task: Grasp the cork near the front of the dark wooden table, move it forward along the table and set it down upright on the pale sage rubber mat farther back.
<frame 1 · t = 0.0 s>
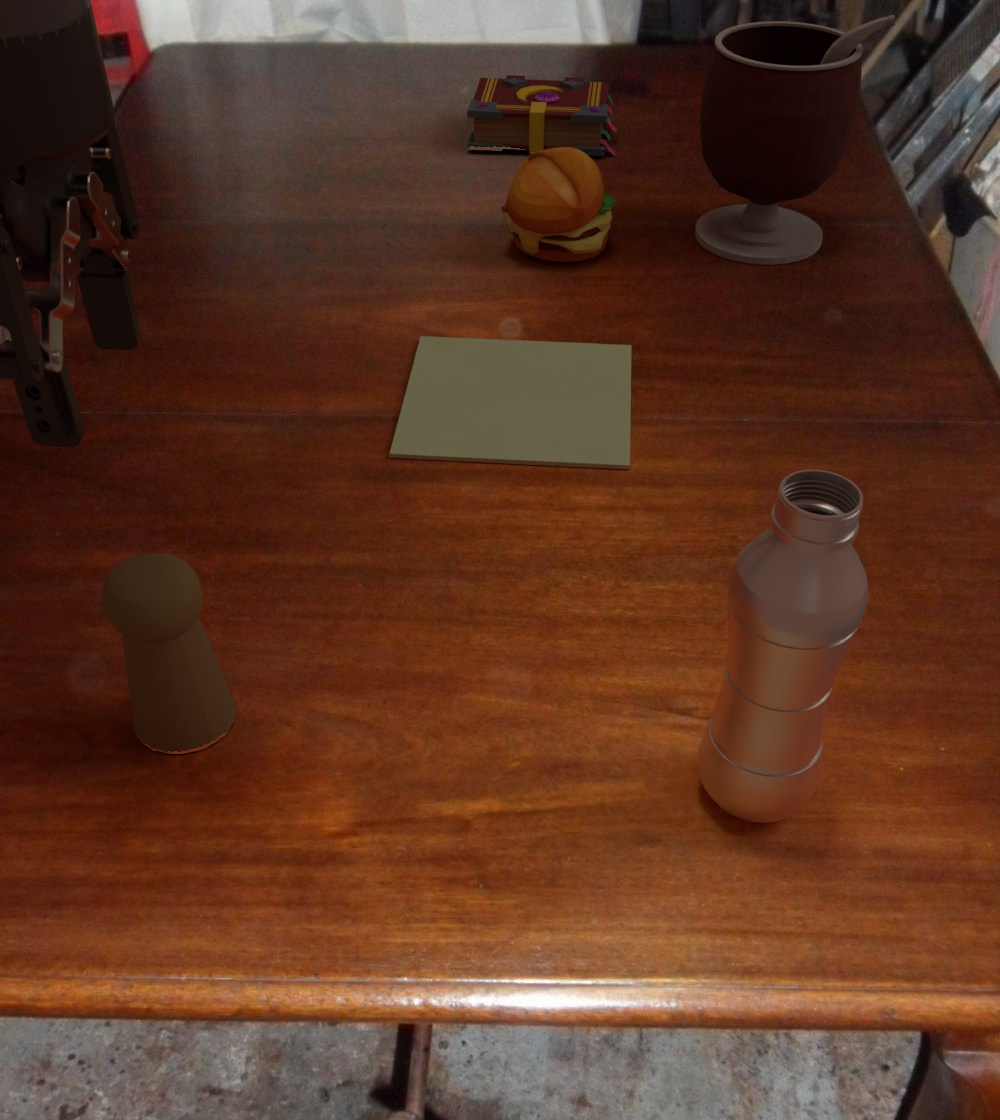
hand: (91, 391, 56), 21 cm above the table, tool pointing down, fingers open, 8 cm apart
mate gourd: (765, 239, 116), on the table
plastic bottle: (751, 794, 66), on the table
cheeseburger: (559, 249, 114), on the table
cork: (186, 719, 70), on the table
decorative book: (544, 139, 134), on the table
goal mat: (517, 400, 95), on the table
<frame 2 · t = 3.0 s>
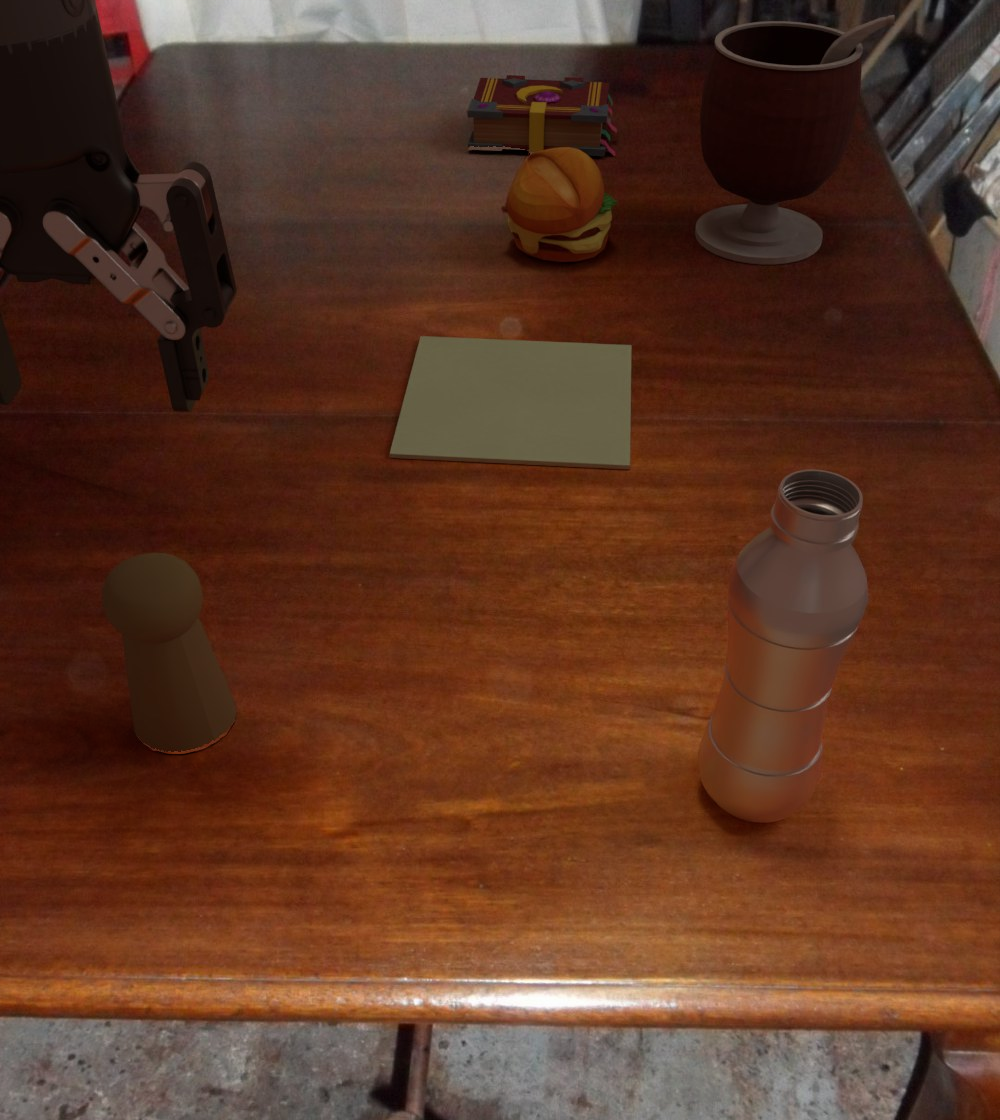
hand: (96, 399, 55), 21 cm above the table, tool pointing down, fingers open, 8 cm apart
nothing on the table moved.
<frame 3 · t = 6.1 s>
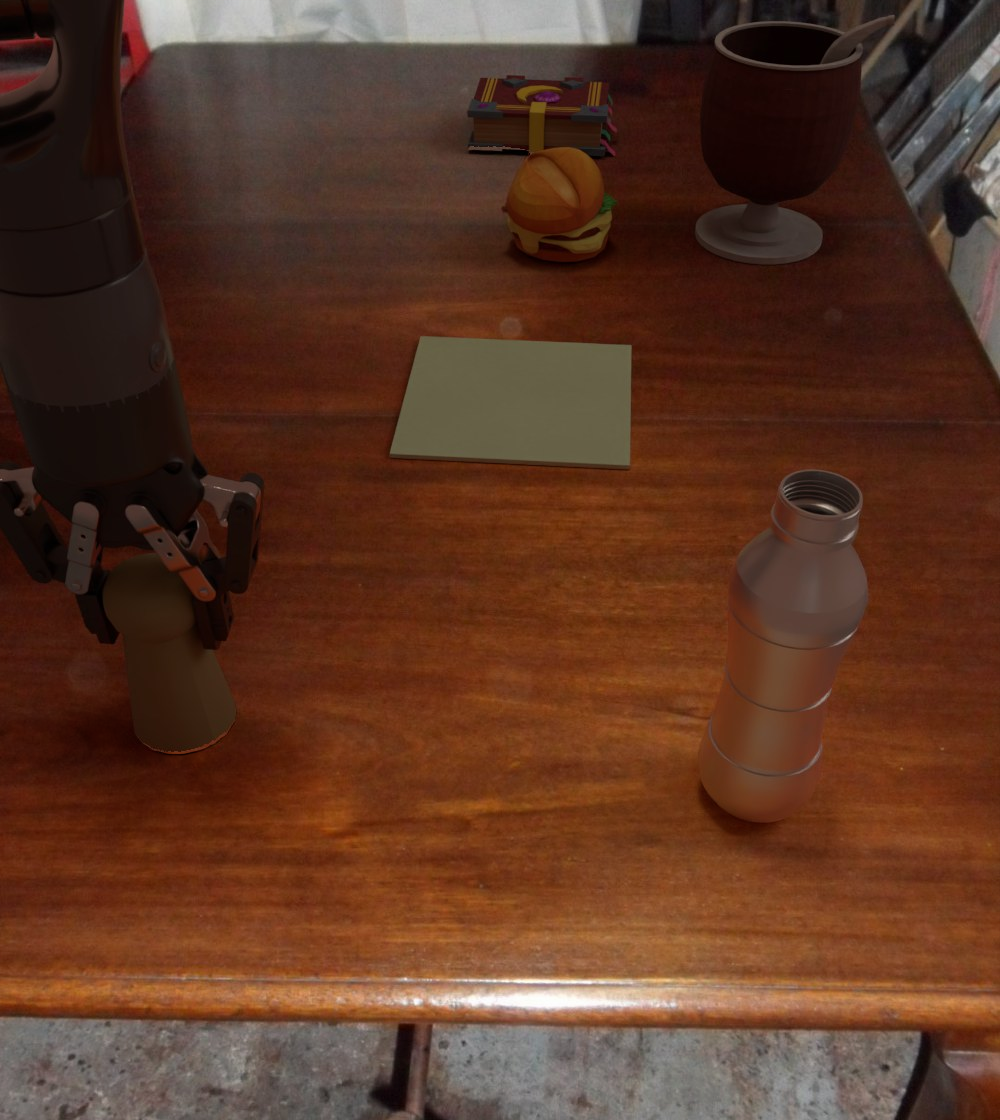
hand: (163, 636, 66), 6 cm above the table, tool pointing down, fingers closed on cork, 5 cm apart
cork: (185, 719, 70), on the table, touching gripper
everything else where it was.
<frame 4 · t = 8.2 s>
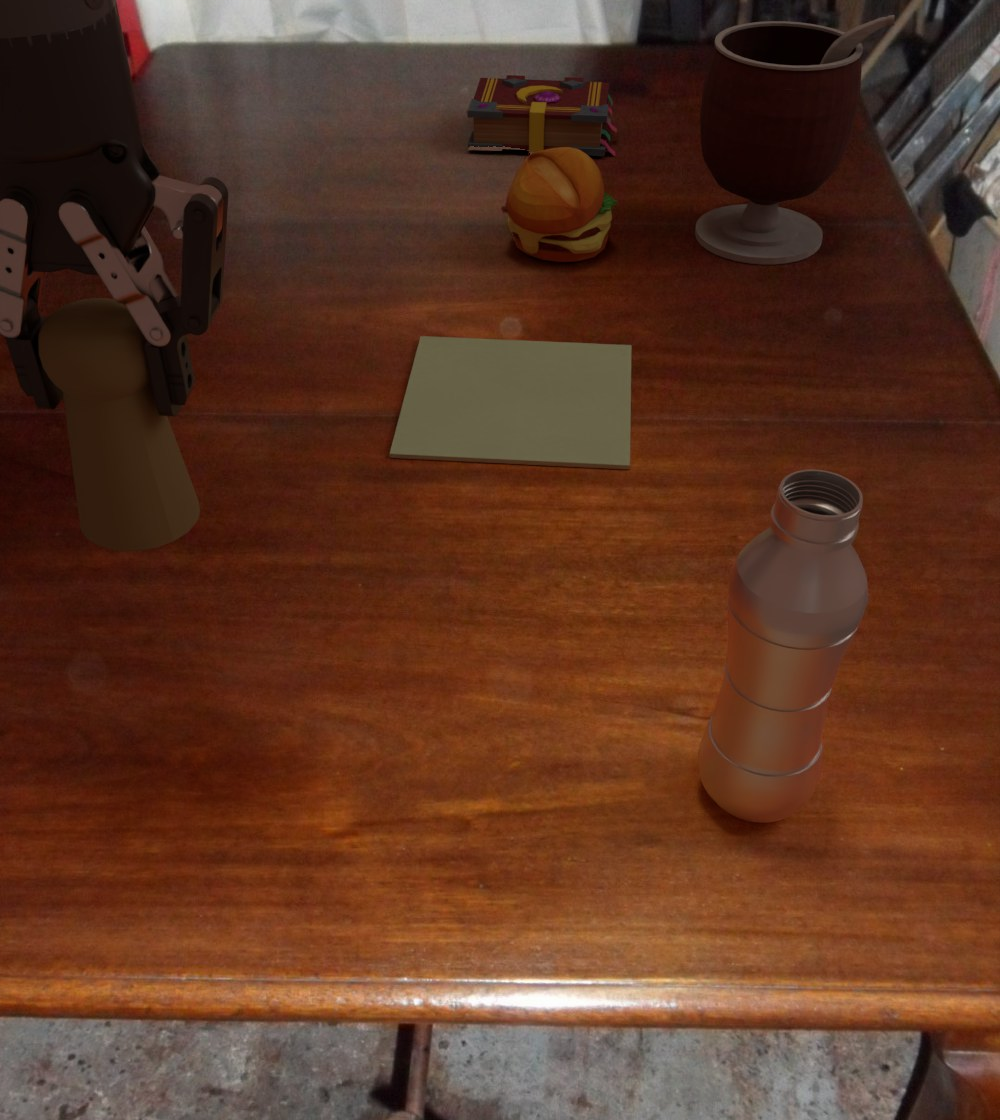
hand: (112, 402, 56), 21 cm above the table, tool pointing down, fingers closed on cork, 5 cm apart
cork: (141, 518, 61), point 14 cm above the table, touching gripper
everything else where it was.
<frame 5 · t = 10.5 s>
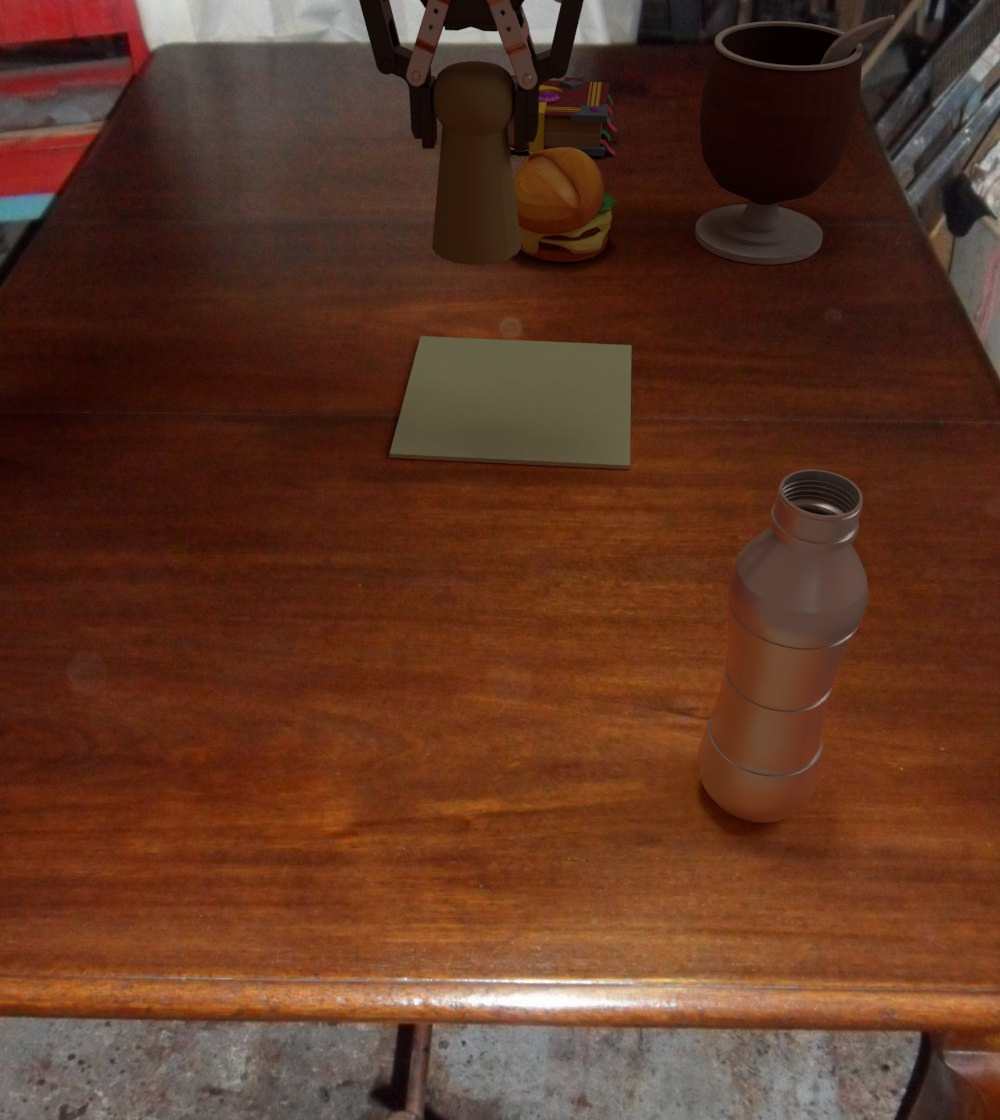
hand: (474, 144, 75), 22 cm above the table, tool pointing down, fingers closed on cork, 5 cm apart
cork: (476, 247, 80), point 15 cm above the table, touching gripper
everything else where it was.
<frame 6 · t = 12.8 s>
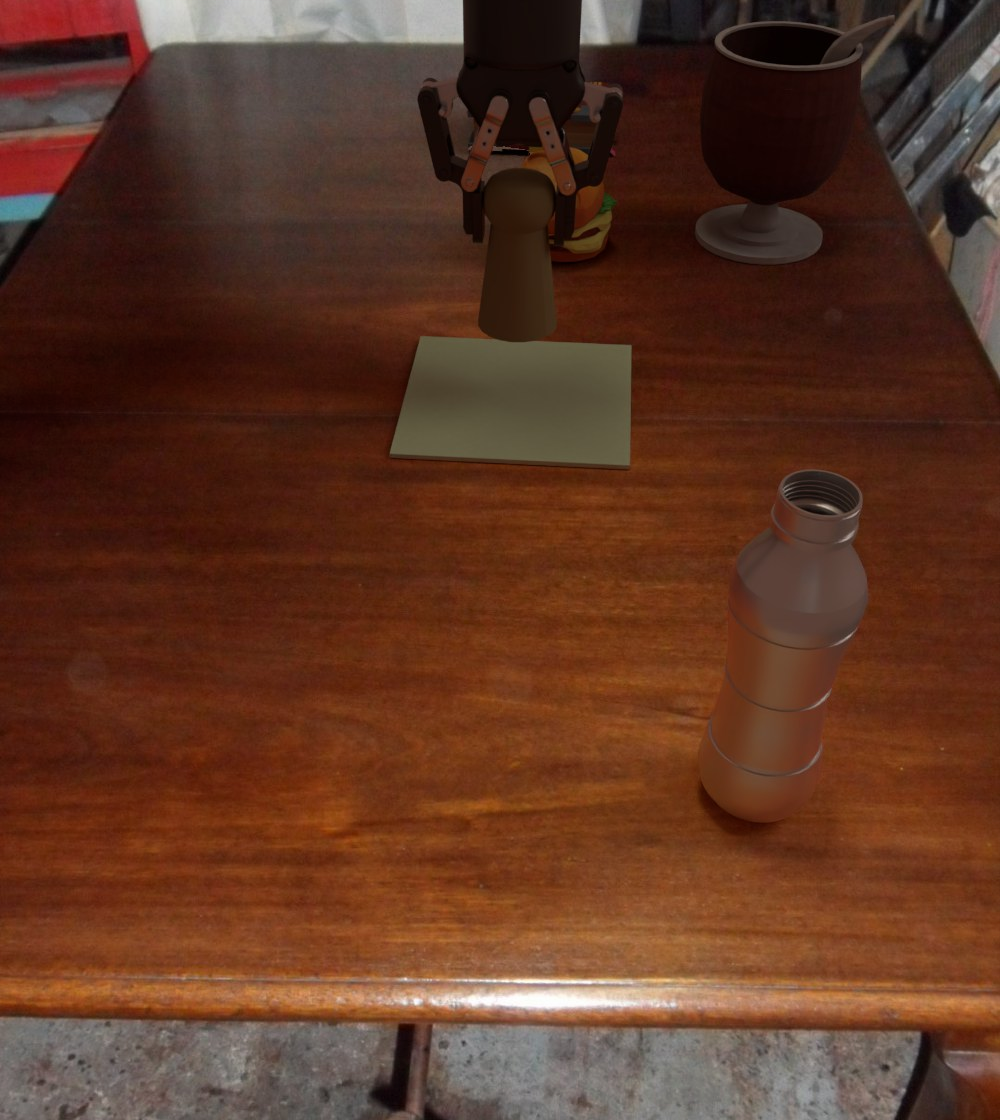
hand: (518, 239, 86), 13 cm above the table, tool pointing down, fingers closed on cork, 5 cm apart
cork: (517, 325, 90), point 6 cm above the table, touching gripper
everything else where it was.
when the fingers open (7 cm above the table, at t = 14.8 s): cork stays where it is, resting on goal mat.
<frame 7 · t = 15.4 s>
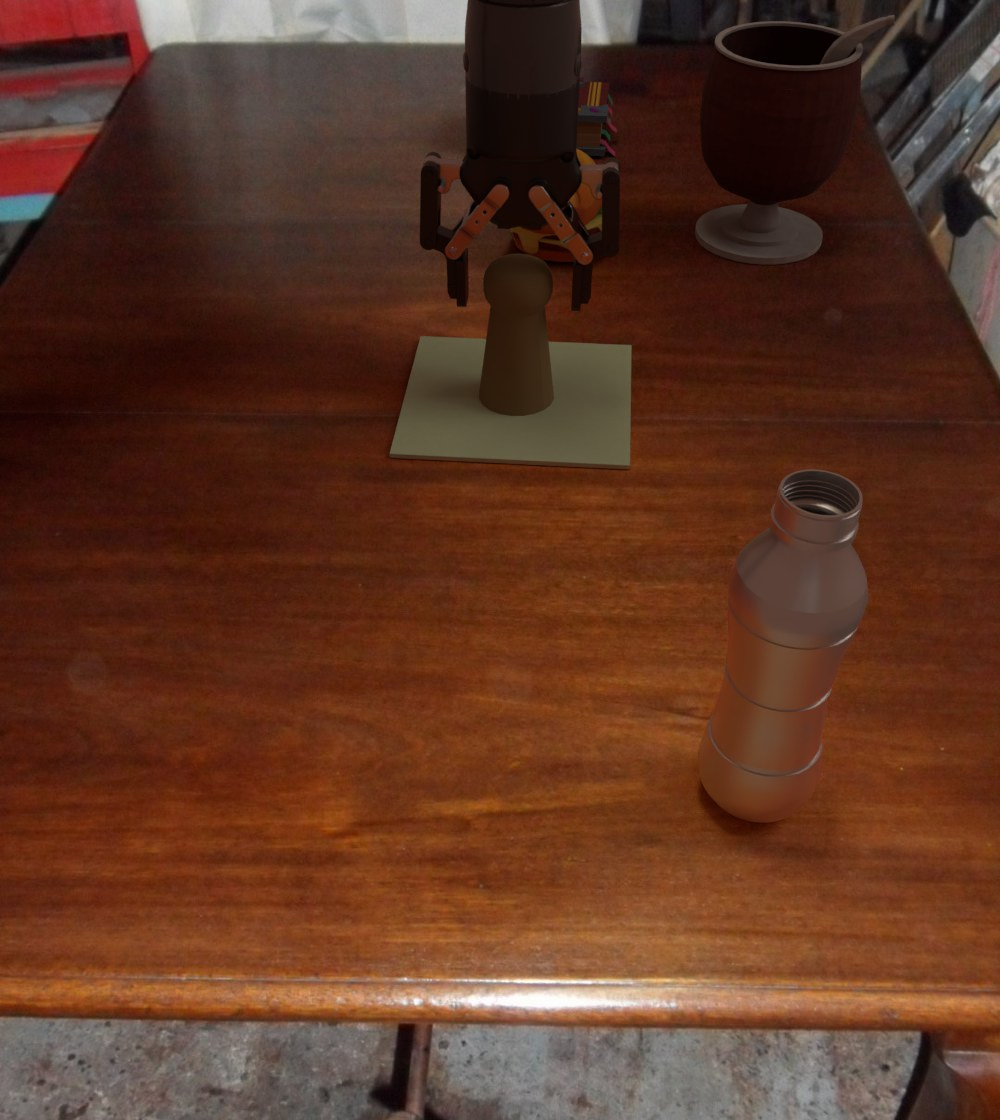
hand: (519, 304, 89), 8 cm above the table, tool pointing down, fingers open, 8 cm apart
cork: (516, 397, 95), resting on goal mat
everything else where it was.
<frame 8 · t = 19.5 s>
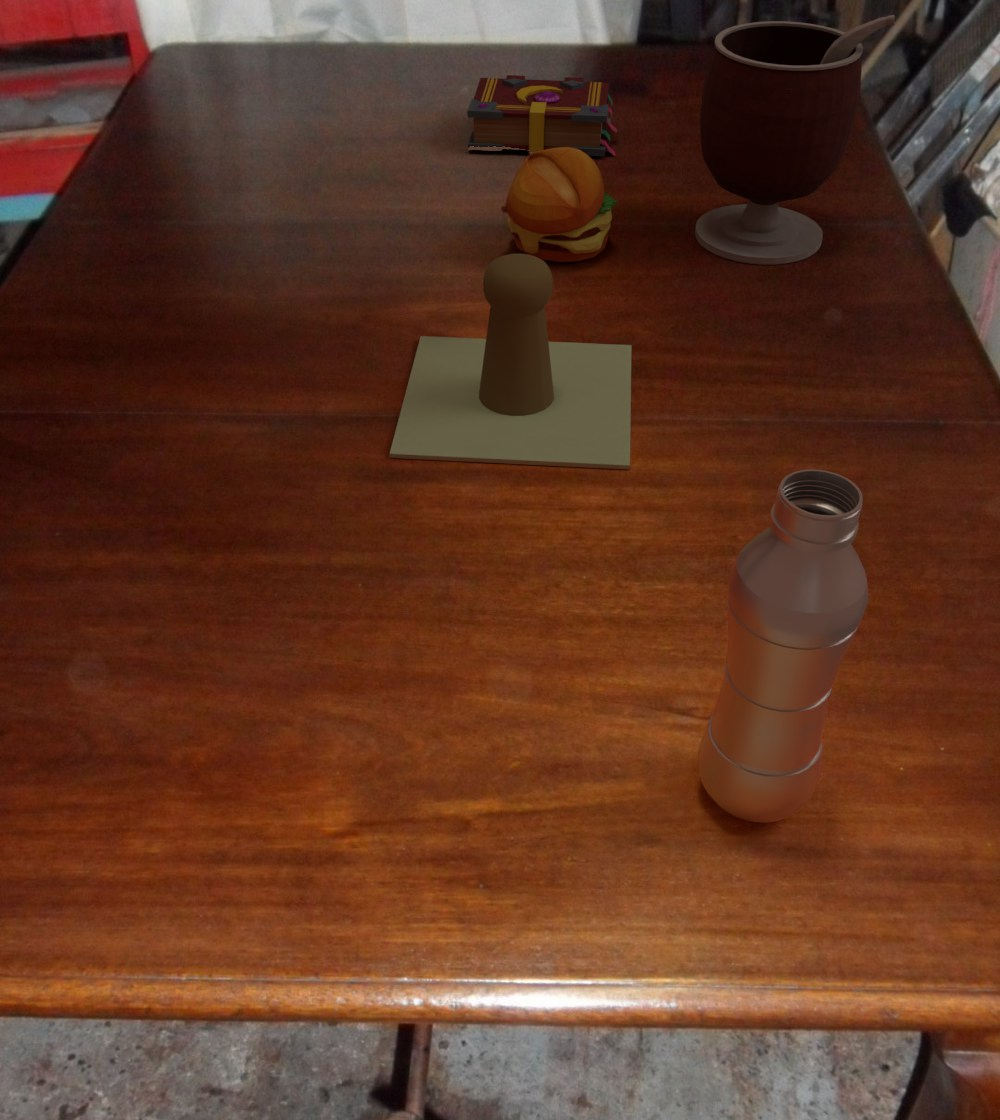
nothing on the table moved.
at the end: cork inside the target area on the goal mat (0.1 cm from its centre), point 0.2 cm above the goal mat's base; cork tilted 0°; cork moved 40.7 cm from its start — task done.
